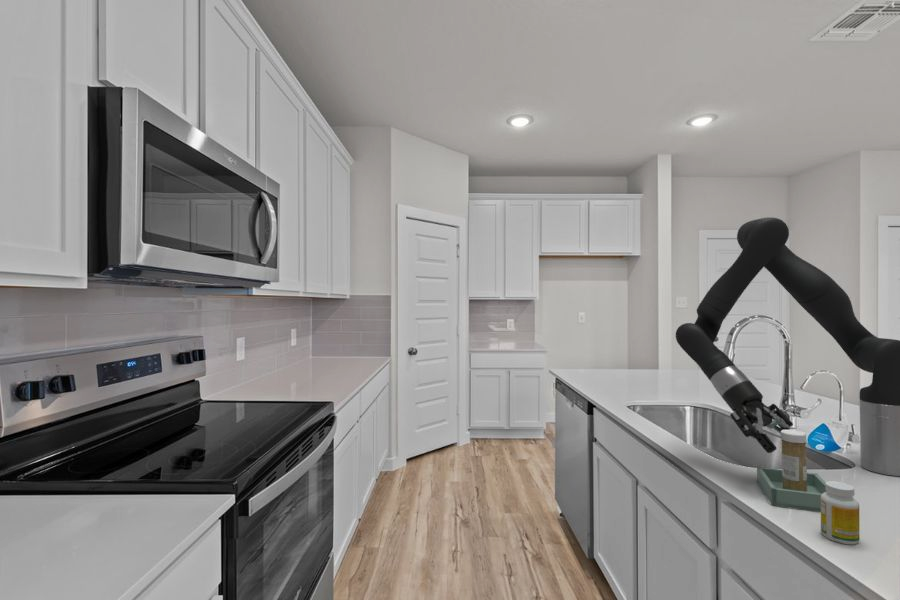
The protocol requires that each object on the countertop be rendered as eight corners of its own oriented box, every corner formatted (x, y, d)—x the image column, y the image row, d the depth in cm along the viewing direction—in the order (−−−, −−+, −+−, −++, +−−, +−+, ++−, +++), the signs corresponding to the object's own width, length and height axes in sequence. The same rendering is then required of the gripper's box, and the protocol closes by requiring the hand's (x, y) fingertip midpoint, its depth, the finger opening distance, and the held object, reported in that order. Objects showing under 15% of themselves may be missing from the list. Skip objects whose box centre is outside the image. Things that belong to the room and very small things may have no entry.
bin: (757, 481, 108) (756, 466, 108) (817, 488, 104) (817, 473, 104) (772, 505, 96) (771, 488, 96) (841, 514, 91) (841, 497, 91)
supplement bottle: (813, 532, 84) (812, 481, 84) (835, 528, 86) (834, 477, 86) (845, 547, 79) (844, 492, 79) (867, 543, 80) (866, 489, 81)
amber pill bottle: (813, 496, 98) (811, 434, 98) (794, 497, 97) (793, 435, 97) (794, 487, 102) (793, 428, 103) (776, 489, 102) (775, 429, 102)
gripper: (725, 381, 107) (777, 444, 96) (765, 377, 112) (818, 436, 102) (705, 399, 112) (752, 461, 101) (744, 394, 117) (792, 452, 106)
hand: (785, 448), depth 101 cm, fingers open, 8 cm apart
